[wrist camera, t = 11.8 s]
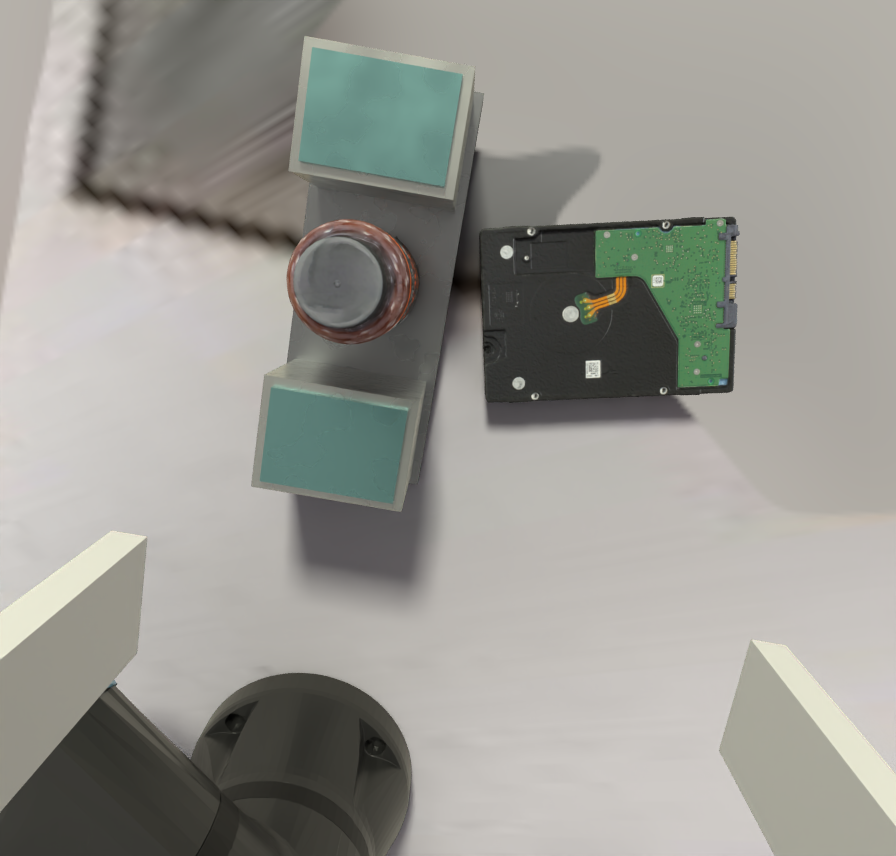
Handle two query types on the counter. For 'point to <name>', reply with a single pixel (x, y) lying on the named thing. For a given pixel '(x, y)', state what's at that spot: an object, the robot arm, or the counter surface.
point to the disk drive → (609, 309)
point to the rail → (400, 214)
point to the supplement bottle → (352, 281)
